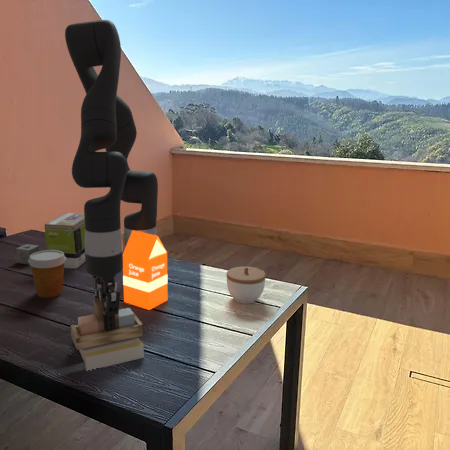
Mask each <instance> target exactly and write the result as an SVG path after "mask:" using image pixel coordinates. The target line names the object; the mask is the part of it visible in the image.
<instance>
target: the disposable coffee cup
mask: <svg viewBox="0 0 450 450" xmlns="http://www.w3.org/2000/svg"><path fill="white" fill-rule="evenodd" d="M65 260H66V257H65V256H64V253H63V252H61V251H58V250H47V249H46V250H40V251H39V252H35V253H33V254H31V255H30V259H29V260H28V263H29V264H30V265H29V264H28V265H29V266H30V269H31V273H32V278H33V283H34V286H35V290H36V295H37V296H38V297H40V298H45V299H47V298H54V297H58V296H60V295H61V294H62V293H63V292H64V290H63V288H64V274H65V268H64V262H65Z"/></svg>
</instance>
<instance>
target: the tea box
mask: <svg viewBox="0 0 450 450" xmlns="http://www.w3.org/2000/svg"><path fill="white" fill-rule="evenodd" d="M44 234H45V244H46V250H58V251H61V252H63V253H64V256H65V257H66V260H65V262H64V269H79V267H80V266H82V265H83V264H85V263H86V260H85V242H84V239H85V218H84V213H74V212H65V213H63V214H61V215H59V216H57V217H55V218H54V219H51V220H50V221H47V222H46V223H44Z"/></svg>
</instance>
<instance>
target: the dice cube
mask: <svg viewBox="0 0 450 450" xmlns="http://www.w3.org/2000/svg"><path fill="white" fill-rule="evenodd" d="M15 251H16V259H17V260H16V262H17V263H18V264H22V265H29V266H30V264H29V263H28V260H29V259H30V255H31V254H33V253H35V252H39V251H41V250H40V245H36V244H29V243H26V244H24V245H21V246H19V247H16V249H15Z"/></svg>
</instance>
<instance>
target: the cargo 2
mask: <svg viewBox="0 0 450 450" xmlns="http://www.w3.org/2000/svg"><path fill="white" fill-rule="evenodd" d="M134 314H135V312H133V310H132V309H131V307H126V308H119V328H124V327H129V326H133V325H135V324H134Z"/></svg>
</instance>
